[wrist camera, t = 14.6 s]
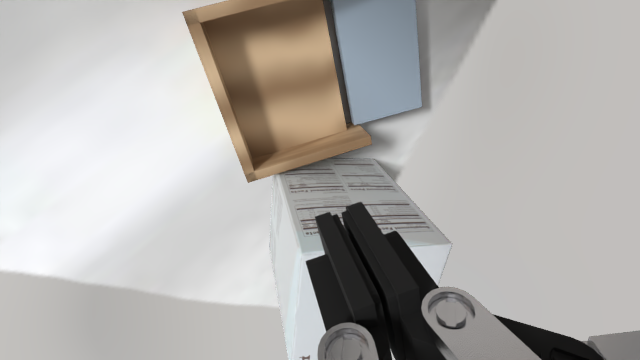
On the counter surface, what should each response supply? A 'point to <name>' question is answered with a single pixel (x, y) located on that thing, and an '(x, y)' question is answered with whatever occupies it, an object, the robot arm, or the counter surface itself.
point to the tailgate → (378, 56)
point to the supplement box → (333, 196)
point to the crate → (274, 82)
